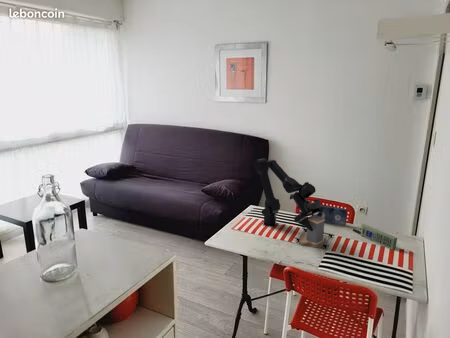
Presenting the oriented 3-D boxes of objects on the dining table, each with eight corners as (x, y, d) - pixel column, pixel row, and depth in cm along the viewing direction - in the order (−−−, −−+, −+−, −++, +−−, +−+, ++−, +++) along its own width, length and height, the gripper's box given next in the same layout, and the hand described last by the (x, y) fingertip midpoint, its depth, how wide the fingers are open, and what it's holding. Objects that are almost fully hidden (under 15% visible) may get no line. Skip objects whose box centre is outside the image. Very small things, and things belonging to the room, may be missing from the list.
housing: (306, 239, 177) (307, 217, 174) (313, 236, 180) (314, 214, 177) (315, 243, 172) (317, 220, 169) (322, 240, 176) (324, 218, 173)
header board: (298, 244, 175) (299, 237, 174) (301, 234, 186) (301, 227, 185) (322, 248, 171) (323, 240, 170) (324, 238, 182) (324, 231, 181)
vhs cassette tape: (346, 224, 200) (347, 209, 197) (345, 226, 197) (347, 210, 195) (314, 219, 207) (315, 204, 205) (313, 221, 205) (314, 205, 202)
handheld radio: (392, 250, 169) (350, 232, 190) (396, 249, 171) (354, 231, 192) (394, 238, 168) (352, 221, 189) (398, 237, 170) (356, 220, 190)
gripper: (300, 198, 167) (317, 226, 162) (322, 191, 179) (339, 217, 174) (286, 209, 175) (302, 236, 170) (308, 201, 187) (324, 226, 181)
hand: (317, 228), depth 173 cm, fingers open, 9 cm apart
